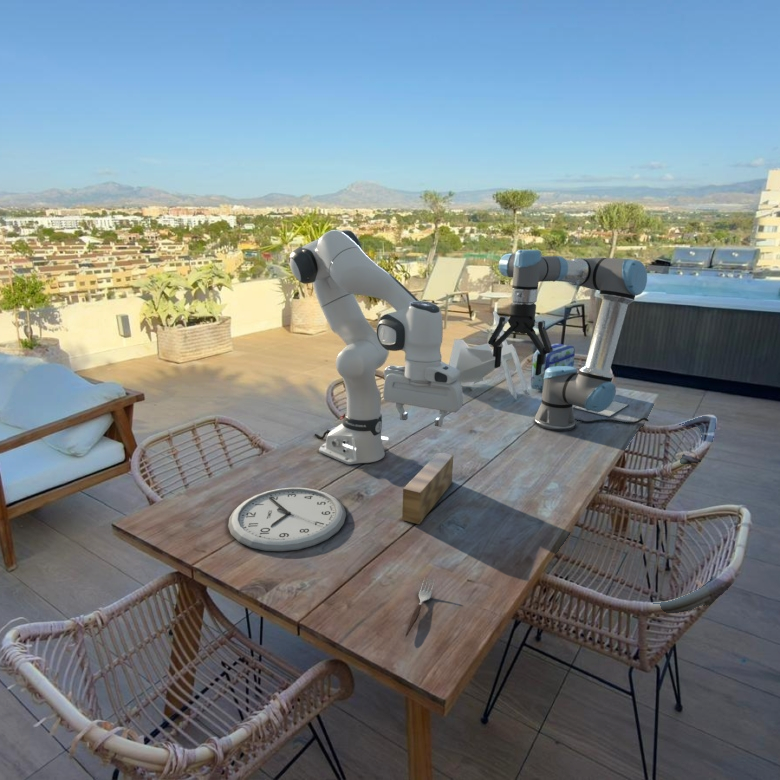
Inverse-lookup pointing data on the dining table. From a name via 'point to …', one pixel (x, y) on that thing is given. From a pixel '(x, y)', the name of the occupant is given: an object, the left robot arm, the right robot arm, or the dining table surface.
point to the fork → (423, 597)
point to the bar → (427, 488)
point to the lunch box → (552, 362)
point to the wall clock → (287, 519)
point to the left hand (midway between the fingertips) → (420, 422)
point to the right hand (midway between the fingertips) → (517, 370)
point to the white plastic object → (484, 361)
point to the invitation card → (608, 409)
